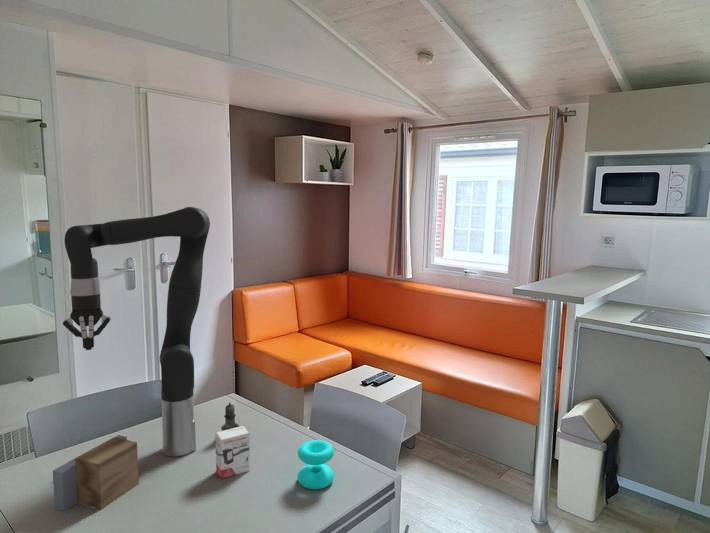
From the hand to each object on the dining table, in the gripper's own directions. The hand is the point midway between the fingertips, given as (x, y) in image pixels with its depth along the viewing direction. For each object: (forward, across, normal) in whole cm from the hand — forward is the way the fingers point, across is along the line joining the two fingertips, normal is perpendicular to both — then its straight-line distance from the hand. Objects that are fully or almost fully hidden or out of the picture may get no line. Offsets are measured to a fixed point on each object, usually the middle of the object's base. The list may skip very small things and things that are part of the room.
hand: (88, 349), depth 142 cm
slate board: (+32, -2, +23) cm, 39 cm away
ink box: (+32, -37, +29) cm, 57 cm away
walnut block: (+32, -5, +27) cm, 42 cm away
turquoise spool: (+32, -57, +43) cm, 78 cm away
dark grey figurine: (+32, -40, +8) cm, 52 cm away
